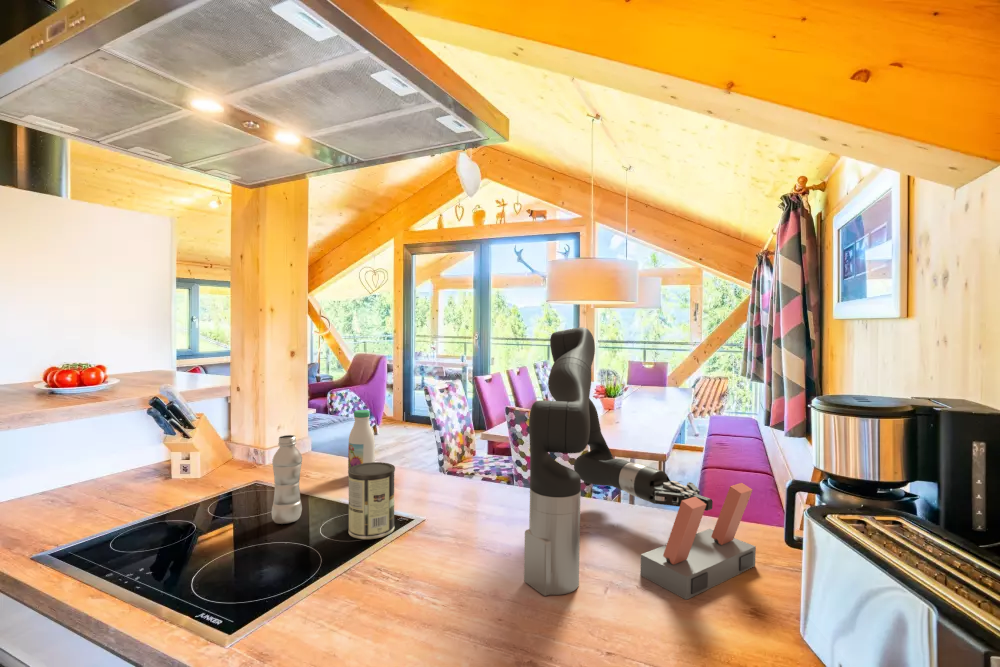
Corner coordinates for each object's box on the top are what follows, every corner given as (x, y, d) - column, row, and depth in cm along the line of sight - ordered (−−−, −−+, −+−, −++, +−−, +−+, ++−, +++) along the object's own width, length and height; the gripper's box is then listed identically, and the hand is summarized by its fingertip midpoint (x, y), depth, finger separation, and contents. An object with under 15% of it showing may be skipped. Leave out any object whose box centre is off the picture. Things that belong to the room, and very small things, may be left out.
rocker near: (672, 566, 91) (692, 508, 88) (661, 557, 93) (681, 500, 90) (686, 561, 93) (706, 504, 90) (675, 551, 95) (694, 495, 92)
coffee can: (371, 517, 121) (371, 459, 121) (403, 527, 116) (404, 466, 116) (337, 532, 112) (338, 470, 112) (371, 543, 107) (371, 478, 107)
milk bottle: (367, 471, 158) (368, 407, 157) (378, 477, 152) (379, 411, 152) (344, 475, 153) (344, 410, 153) (354, 482, 147) (355, 414, 147)
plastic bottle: (265, 523, 117) (265, 438, 116) (289, 514, 123) (289, 432, 122) (284, 529, 114) (284, 441, 113) (308, 519, 120) (308, 435, 119)
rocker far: (720, 546, 99) (741, 493, 96) (709, 538, 101) (729, 485, 98) (732, 542, 102) (752, 489, 98) (721, 533, 104) (740, 482, 100)
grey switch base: (687, 600, 87) (688, 577, 87) (640, 575, 95) (640, 554, 95) (756, 566, 99) (757, 546, 99) (709, 547, 108) (709, 528, 107)
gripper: (624, 470, 114) (690, 493, 100) (662, 462, 121) (729, 481, 107) (623, 503, 114) (690, 530, 100) (661, 492, 122) (728, 516, 107)
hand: (710, 505), depth 103 cm, fingers closed
